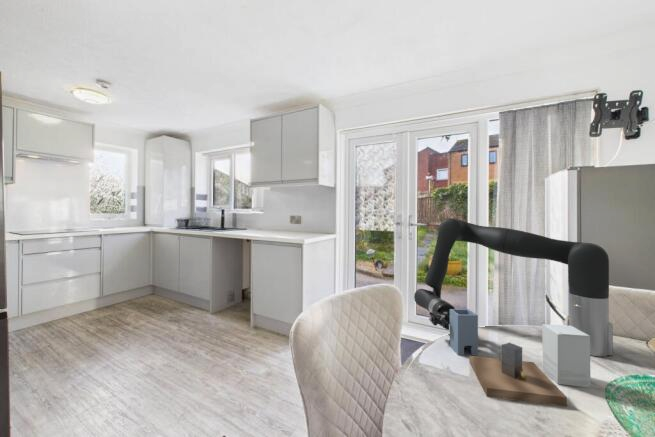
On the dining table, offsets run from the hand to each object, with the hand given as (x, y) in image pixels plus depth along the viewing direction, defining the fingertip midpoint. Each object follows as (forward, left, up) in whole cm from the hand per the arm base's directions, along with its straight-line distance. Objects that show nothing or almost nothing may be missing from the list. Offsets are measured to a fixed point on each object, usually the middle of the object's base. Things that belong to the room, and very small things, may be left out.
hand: (461, 326), depth 92 cm
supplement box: (-22, +12, -7) cm, 26 cm away
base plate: (-8, +17, -7) cm, 20 cm away
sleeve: (0, +1, -7) cm, 7 cm away
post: (-8, +17, -5) cm, 20 cm away
